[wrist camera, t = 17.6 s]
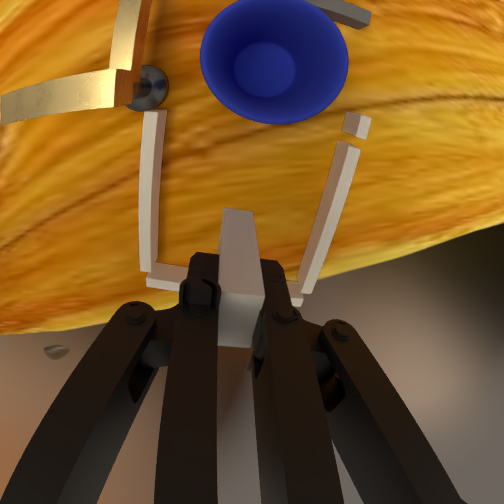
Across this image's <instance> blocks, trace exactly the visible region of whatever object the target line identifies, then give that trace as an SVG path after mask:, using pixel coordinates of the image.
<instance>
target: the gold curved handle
mask: <svg viewBox="0 0 504 504" xmlns="http://www.w3.org/2000/svg"><path fill="white" fill-rule="evenodd" d="M151 4H152V0H120V2H119V6H118V11H117V16H116V22H115V28H114V34H113V41H112V48H111V56H110V65H109V69H108V70H101V71H94V72H88V73H82V74H77V75H72V76H67V77H63V78H58V79H54V80H50V81H46V82H42V83H38V84H35V85H31V86H28V87H25V88H22V89H18V90H15V91H12V92H10V93H7V94H4V95H1V126H2V125H5V124H9V123H13V122H17V121H22V120H26V119H31V118H36V117H41V116H46V115H52V114H58V113H64V112H71V111H79V110H87V109H96V108H107V107H116V106H122V105H128V104H132V100H134V99H143V98H145V97H147V96H148V95H149V94H150V92H151V90H152V84H151V82H150V80H149V79H147V78H142V77H141V70H142V61H143V53H144V45H145V38H146V31H147V25H148V19H149V14H150V9H151Z"/></svg>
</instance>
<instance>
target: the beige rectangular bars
mask: <svg viewBox="0 0 504 504" xmlns="http://www.w3.org/2000/svg"><path fill="white" fill-rule="evenodd" d="M166 117H167V110H162V109H153V110H149V111H144V120H143V130H142V142H141V156H140V175H139V254H140V271H144V272H148V274H147V277H146V286H147V287H153V288H159V289H165V290H171V291H178V292H179V286H180V284H181V282H182V281H183V280H185V279H186V278H187V274H188V268H189V267H183V266H176V265H170V264H163V263H157V262H156V260H157V258H158V218H159V195H160V179H161V165H162V154H163V143H164V134H165V125H166ZM371 120H372V118H369V117H367V116H364V115H361V114H357V113H353V112H348V111H347V112H346V116H345V120H344V123H343V127H342V131H344V132H346V133H349V134H351V135H353V136H355V137H358V138H361V139H364V140H366V138H367V135H368V131H369V127H370V123H371ZM360 152H361V149H359V148H357V147H356V146H354V145H352V144H350V143H347V142H344V141H340V140H338V142H337V146H336V150H335V153H334V157H333V161H332V164H331V168H330V171H329V175H328V178H327V182H326V185H325V188H324V192H323V195H322V198H321V202H320V205H319V208H318V212H317V215H316V218H315V221H314V224H313V228H312V231H311V234H310V237H309V240H308V243H307V246H306V249H305V252H304V255H303V258H302V261H301V264H300V267H299V270H298V273H297V280H298V282H294V281H286V282H287V283H286V284H287V286H288V290H289V294H290V298H291V302H292V306H298V307H301V305H302V302H303V300H304V298H303V294H302V293H306V294H311V293H312V290H313V288H314V286H315V283H316V280H317V278H318V275H319V273H320V270H321V268H322V265H323V262H324V260H325V257H326V254H327V252H328V249H329V246H330V244H331V241H332V238H333V235H334V233H335V230H336V227H337V224H338V221H339V218H340V215H341V212H342V209H343V206H344V203H345V200H346V197H347V194H348V191H349V188H350V185H351V182H352V179H353V175H354V172H355V169H356V166H357V162H358V159H359V156H360Z"/></svg>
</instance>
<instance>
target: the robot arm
mask: <svg viewBox="0 0 504 504" xmlns="http://www.w3.org/2000/svg"><path fill="white" fill-rule="evenodd" d="M286 283H287V282H286V278H285V274H284V270H283V267H282V266H281V265H280V264H279V263H278V262H277V261H274V260H266V259H260V258H259V251H258V244H257V237H256V230H255V224H254V217H253V212H252V211H245V210H238V209H231V208H224V211H223V218H222V225H221V231H220V238H219V245H218V253H217V254H210V253H202V252H196V253H195V254H194V255H193V256H192V257H191V259H190V263H189V268H188V274H187V278H186V279H185V280H183V281H182V282H181V284H180V286H179V304H177V305H176V306H174V307H172V308H170V309H165V310H158V311H155V310H154V309H153V308H152V307H151V306H150V305H148V304H147V303H145V302H140V301H133V302H128V303H126V304H123V305H122V306H121V307H120V308H119V309H118V310H117V311H116V312H115V314H114V315H113V316H112V318H111V319H110V320H109V322H108V323H107V324H106V326H105V327H104V328H103V330H102V331H101V333H100V334H99V335H98V337H97V338H96V340H95V341H94V342H93V344H92V345H91V346H90V348H89V349H88V351H87V352H86V354H85V355H84V356H83V358H82V359H81V361H80V362H79V363H78V365H77V366H76V368H75V369H74V371H73V372H72V374H71V375H70V377H69V378H68V380H67V381H66V383H65V384H64V386H63V388H62V389H61V390H60V392H59V394H58V395H57V397H56V398H55V400H54V402H53V403H52V405H51V406H50V408H49V409H48V411H47V413H46V414H45V416H44V418H43V419H42V421H41V423H40V425H39V426H38V428H37V430H36V431H35V433H34V435H33V437H32V438H31V440H30V442H29V444H28V446H27V447H26V449H25V451H24V453H23V455H22V457H21V459H20V460H19V462H18V464H17V466H16V468H15V470H14V472H13V475H12V476H11V478H10V481H9V483H8V485H7V487H6V489H5V491H4V493H3V496H2V498H1V500H0V504H96V503H97V501H98V499H99V496H100V494H101V492H102V489H103V487H104V485H105V482H106V480H107V478H108V476H109V473H110V471H111V469H112V467H113V464H114V462H115V460H116V458H117V455H118V453H119V451H120V449H121V446H122V445H123V442H124V440H125V438H126V436H127V434H128V432H129V429H130V427H131V425H132V423H133V421H134V419H135V417H136V415H137V413H138V411H139V408H140V406H141V404H142V402H143V400H144V398H145V396H146V394H147V392H148V390H149V388H150V386H151V384H152V381H153V379H154V377H155V376H156V374H157V372H158V370H159V367H162V366H168V371H167V378H166V385H165V392H164V399H163V407H162V416H161V423H160V432H159V442H158V452H157V464H156V476H155V477H156V478H155V493H154V504H218V498H217V497H218V496H217V442H216V441H217V439H216V438H217V435H216V434H217V427H216V426H217V425H216V424H217V419H216V418H217V417H216V416H217V409H216V408H217V353H218V352H217V351H218V345H220V346H231V347H244V348H250V347H251V343H252V341H253V352H252V355H251V358H250V361H249V365H248V369H247V370H250V369H251V371H252V385H253V399H254V413H255V427H256V440H257V453H258V465H259V479H260V491H261V503H262V504H344V500H343V495H342V490H341V485H340V479H339V474H338V470H337V464H336V459H335V454H334V450H333V445H332V441H333V443H334V445H335V447H336V449H337V451H338V453H339V455H340V457H341V459H342V461H343V463H344V465H345V467H346V469H347V471H348V473H349V475H350V477H351V479H352V481H353V483H354V485H355V487H356V489H357V491H358V493H359V495H360V497H361V499H362V501H363V503H364V504H467V503H466V502H464V501H463V500H462V499H461V498H460V496H459V495H458V493H457V491H456V489H455V487H454V485H453V484H452V482H451V480H450V478H449V477H448V475H447V473H446V471H445V469H444V468H443V466H442V464H441V462H440V461H439V460H438V457H437V456H436V454H435V452H434V451H433V449H432V447H431V445H430V444H429V442H428V441H427V439H426V437H425V436H424V434H423V432H422V431H421V429H420V427H419V426H418V424H417V423H416V421H415V419H414V418H413V416H412V414H411V413H410V411H409V410H408V408H407V407H406V405H405V403H404V402H403V400H402V399H401V397H400V396H399V394H398V393H397V391H396V389H395V388H394V386H393V385H392V384H391V382H390V380H389V379H388V377H387V376H386V374H385V373H384V371H383V370H382V368H381V367H380V365H379V364H378V362H377V361H376V359H375V358H374V356H373V355H372V353H371V352H370V350H369V349H368V347H367V346H366V344H365V343H364V342H363V340H362V339H361V337H360V336H359V334H358V333H357V331H356V330H355V329H354V328H353V327H352V326H351V325H350V324H348V323H346V322H345V321H342V320H339V319H338V320H337V319H333V320H330V321H327V322H326V324H325V325H324V326H320V325H317V324H313V323H310V322H307V321H305V320H304V319H302V316H301V314H300V312H299V311H298V310H297V309H296V308H295V307H293V306H292V302H291V298H290V294H289V290H288V286H287V284H286ZM331 439H332V440H331Z"/></svg>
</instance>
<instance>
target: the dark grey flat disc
mask: <svg viewBox="0 0 504 504" xmlns="http://www.w3.org/2000/svg"><path fill="white" fill-rule="evenodd" d="M141 77H142V78H147V79H149V80H150V82H151V84H152V90H151V92H150V94H149V95H148V96H147V97H145V98H143V99H134V100H132V104H128V105H126V106H127V107H128V108H129V109H131V110H134V111H147V110H151V109H153V108H155V107H157V106H158V105H160V104H161V103H162V101H163V100H164V99H165V97H166V95H167V93H168V87H169V83H168V79H167V76H166V75H165V73H164V72H163V71H162V70H160V69H159V68H157V67H154V66H149V65H142V70H141Z"/></svg>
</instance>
